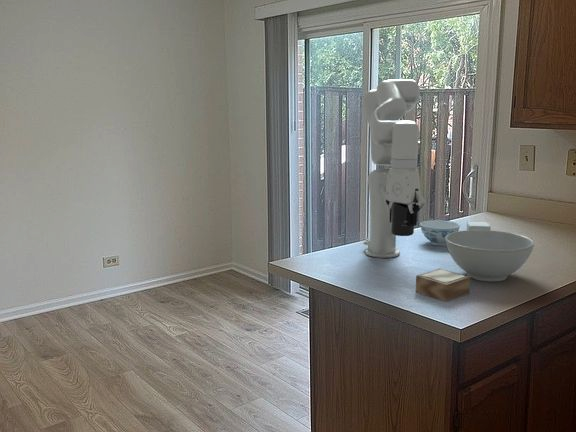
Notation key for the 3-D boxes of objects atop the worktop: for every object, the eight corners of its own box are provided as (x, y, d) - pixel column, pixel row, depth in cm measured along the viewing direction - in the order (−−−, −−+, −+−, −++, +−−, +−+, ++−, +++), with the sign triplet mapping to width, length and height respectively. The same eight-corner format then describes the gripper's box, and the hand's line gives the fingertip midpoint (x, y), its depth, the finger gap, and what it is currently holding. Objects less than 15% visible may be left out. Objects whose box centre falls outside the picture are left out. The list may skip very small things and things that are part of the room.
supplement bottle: (408, 237, 168) (409, 197, 166) (387, 234, 172) (387, 195, 170) (417, 232, 174) (418, 193, 171) (396, 230, 177) (397, 192, 175)
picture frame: (415, 291, 171) (416, 275, 170) (439, 284, 178) (439, 267, 177) (446, 301, 163) (446, 284, 162) (469, 293, 169) (470, 276, 168)
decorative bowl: (480, 259, 203) (482, 226, 201) (549, 278, 181) (552, 241, 179) (426, 272, 189) (427, 237, 187) (494, 295, 167) (496, 255, 165)
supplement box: (489, 261, 201) (491, 226, 198) (467, 260, 202) (468, 225, 200) (486, 255, 208) (488, 221, 205) (465, 255, 209) (466, 221, 207)
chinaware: (412, 240, 231) (413, 222, 229) (444, 237, 235) (445, 219, 234) (432, 249, 217) (433, 230, 215) (466, 246, 222) (467, 226, 220)
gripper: (374, 163, 173) (373, 220, 177) (418, 168, 160) (416, 230, 163) (391, 161, 178) (390, 217, 181) (436, 166, 164) (433, 226, 167)
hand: (402, 223), depth 172 cm, fingers closed on supplement bottle, 6 cm apart
